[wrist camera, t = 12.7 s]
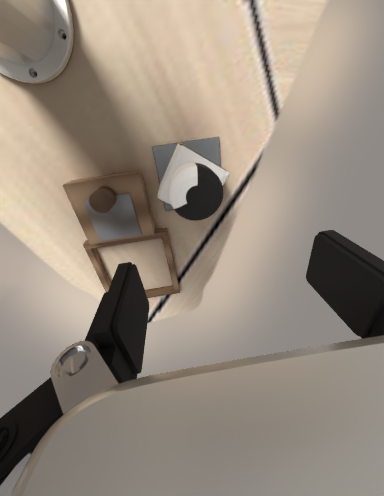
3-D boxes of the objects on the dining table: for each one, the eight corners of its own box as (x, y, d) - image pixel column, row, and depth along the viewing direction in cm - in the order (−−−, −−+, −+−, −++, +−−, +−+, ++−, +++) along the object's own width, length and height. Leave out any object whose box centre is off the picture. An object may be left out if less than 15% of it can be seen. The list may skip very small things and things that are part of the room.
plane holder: (58, 182, 31) (36, 192, 26) (153, 168, 31) (150, 175, 26) (113, 298, 44) (105, 320, 39) (179, 288, 44) (180, 308, 39)
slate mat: (152, 146, 29) (152, 146, 29) (218, 136, 29) (219, 136, 29) (165, 209, 34) (165, 210, 34) (221, 201, 35) (222, 202, 34)
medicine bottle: (219, 165, 31) (242, 182, 21) (197, 204, 34) (208, 236, 24) (178, 141, 29) (182, 147, 19) (159, 185, 32) (153, 211, 22)
